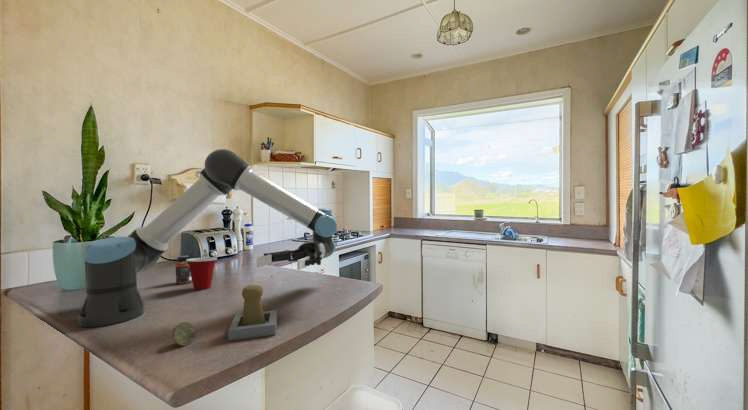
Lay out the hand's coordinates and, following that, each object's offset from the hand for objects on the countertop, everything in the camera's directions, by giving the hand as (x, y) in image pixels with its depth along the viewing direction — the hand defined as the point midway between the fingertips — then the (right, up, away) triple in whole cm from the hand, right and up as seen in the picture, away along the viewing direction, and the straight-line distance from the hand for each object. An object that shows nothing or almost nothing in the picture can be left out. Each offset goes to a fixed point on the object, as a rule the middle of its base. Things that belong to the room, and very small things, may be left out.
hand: (277, 263), depth 91 cm
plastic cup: (-39, -16, +31) cm, 53 cm away
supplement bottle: (-52, -16, +40) cm, 68 cm away
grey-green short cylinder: (-17, -16, -17) cm, 29 cm away
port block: (-3, -15, -9) cm, 18 cm away
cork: (-4, -15, -9) cm, 18 cm away
